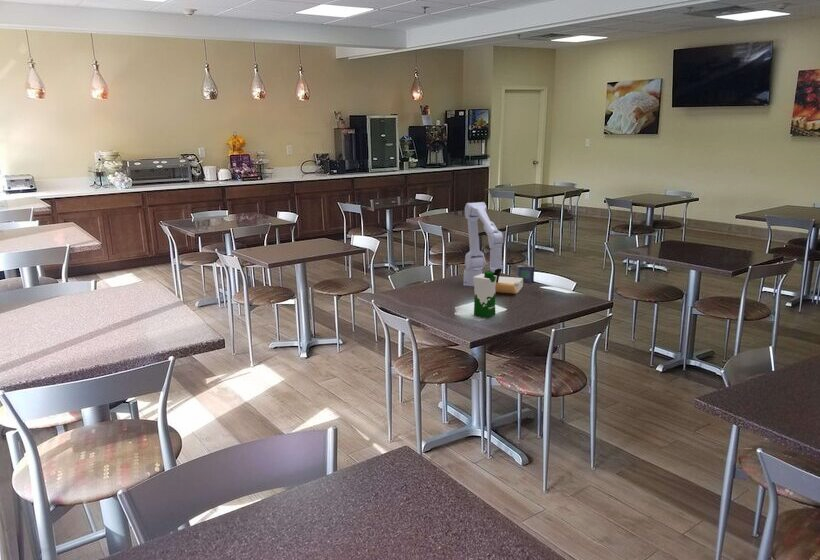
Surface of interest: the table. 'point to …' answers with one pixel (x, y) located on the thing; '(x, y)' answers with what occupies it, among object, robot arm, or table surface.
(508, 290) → the door
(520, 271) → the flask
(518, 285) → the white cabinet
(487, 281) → the milk carton
